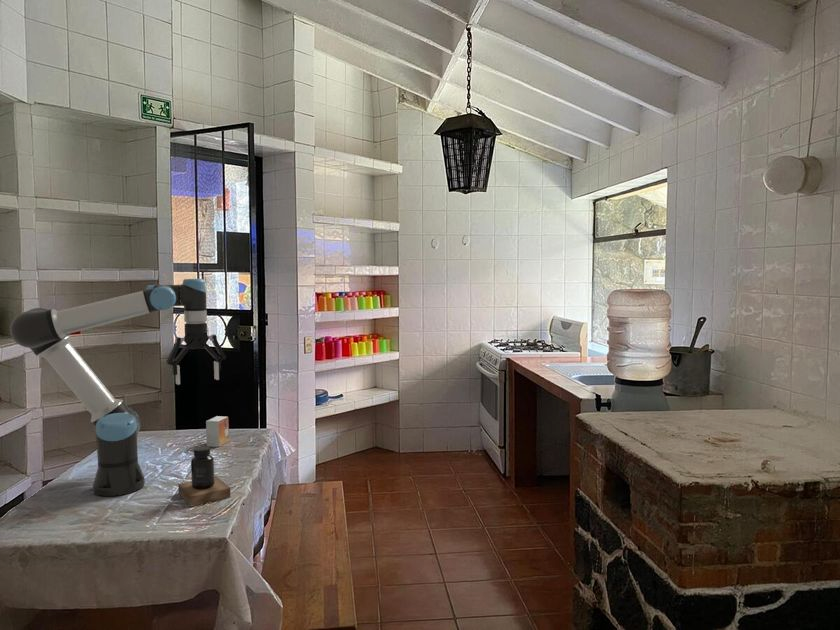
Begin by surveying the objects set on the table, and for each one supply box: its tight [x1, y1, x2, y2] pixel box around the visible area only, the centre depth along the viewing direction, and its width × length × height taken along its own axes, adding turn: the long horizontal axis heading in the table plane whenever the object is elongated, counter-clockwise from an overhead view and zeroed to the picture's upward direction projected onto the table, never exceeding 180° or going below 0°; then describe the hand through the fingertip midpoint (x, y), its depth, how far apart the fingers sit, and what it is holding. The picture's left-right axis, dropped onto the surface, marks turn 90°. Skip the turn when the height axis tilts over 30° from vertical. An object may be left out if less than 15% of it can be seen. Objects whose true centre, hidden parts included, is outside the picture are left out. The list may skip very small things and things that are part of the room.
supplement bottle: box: [190, 446, 215, 489], centre depth 191 cm, size 7×7×12 cm
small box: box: [205, 415, 230, 448], centre depth 245 cm, size 8×6×10 cm
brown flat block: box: [177, 475, 231, 507], centre depth 191 cm, size 12×13×3 cm
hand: (197, 381), depth 216 cm, fingers open, 13 cm apart
